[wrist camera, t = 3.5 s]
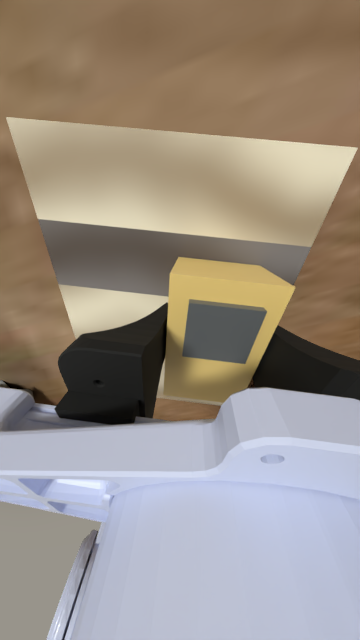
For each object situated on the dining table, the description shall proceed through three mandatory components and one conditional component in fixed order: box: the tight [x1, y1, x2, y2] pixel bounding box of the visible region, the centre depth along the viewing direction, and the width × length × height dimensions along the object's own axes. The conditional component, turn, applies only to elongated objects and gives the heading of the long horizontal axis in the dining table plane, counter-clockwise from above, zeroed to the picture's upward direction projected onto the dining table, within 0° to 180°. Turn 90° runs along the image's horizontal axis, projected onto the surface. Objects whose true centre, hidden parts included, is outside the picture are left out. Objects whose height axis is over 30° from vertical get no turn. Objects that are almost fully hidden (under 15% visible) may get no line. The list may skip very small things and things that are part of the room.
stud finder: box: [163, 257, 296, 403], centre depth 10 cm, size 8×5×4 cm, turn 175°
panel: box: [6, 117, 357, 406], centre depth 13 cm, size 20×16×1 cm
